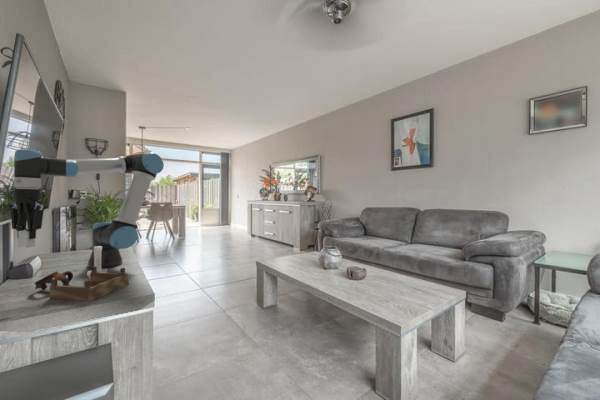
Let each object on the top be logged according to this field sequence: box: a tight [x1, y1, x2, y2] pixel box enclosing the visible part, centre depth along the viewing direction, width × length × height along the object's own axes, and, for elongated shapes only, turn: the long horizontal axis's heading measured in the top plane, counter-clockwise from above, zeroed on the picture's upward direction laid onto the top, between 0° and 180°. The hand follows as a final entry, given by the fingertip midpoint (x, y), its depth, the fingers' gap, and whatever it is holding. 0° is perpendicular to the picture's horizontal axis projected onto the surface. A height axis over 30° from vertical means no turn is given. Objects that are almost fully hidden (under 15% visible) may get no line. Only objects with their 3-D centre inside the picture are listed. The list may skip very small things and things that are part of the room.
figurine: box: [86, 246, 109, 280], centre depth 116 cm, size 7×9×15 cm
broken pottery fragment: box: [34, 271, 74, 291], centre depth 104 cm, size 12×10×8 cm
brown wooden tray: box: [49, 267, 129, 302], centre depth 103 cm, size 18×16×7 cm
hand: (26, 246), depth 104 cm, fingers open, 3 cm apart
